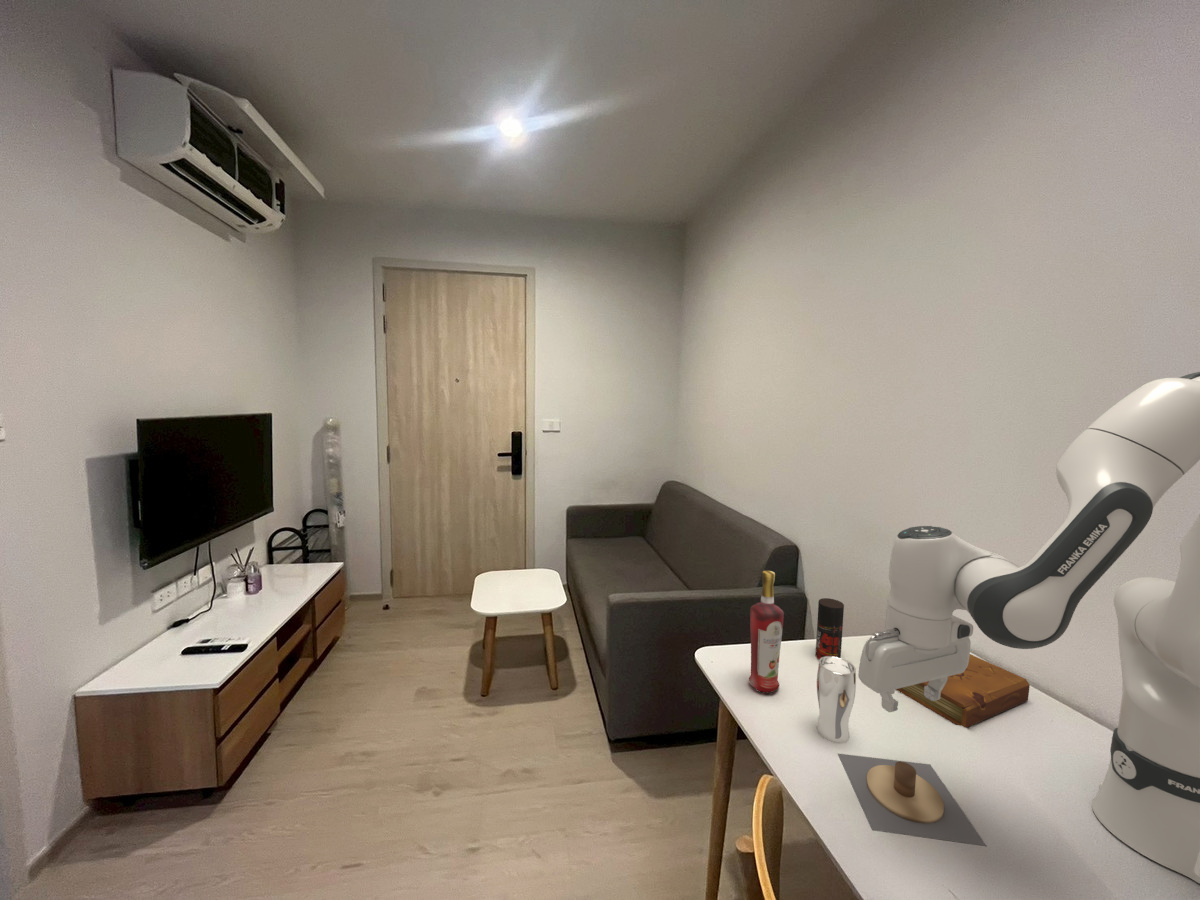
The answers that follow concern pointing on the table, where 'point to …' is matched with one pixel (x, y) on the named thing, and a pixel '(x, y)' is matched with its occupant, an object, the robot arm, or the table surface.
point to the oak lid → (905, 793)
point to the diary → (974, 693)
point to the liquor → (765, 638)
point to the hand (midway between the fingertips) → (910, 703)
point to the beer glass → (835, 697)
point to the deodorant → (829, 628)
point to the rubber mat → (881, 819)
